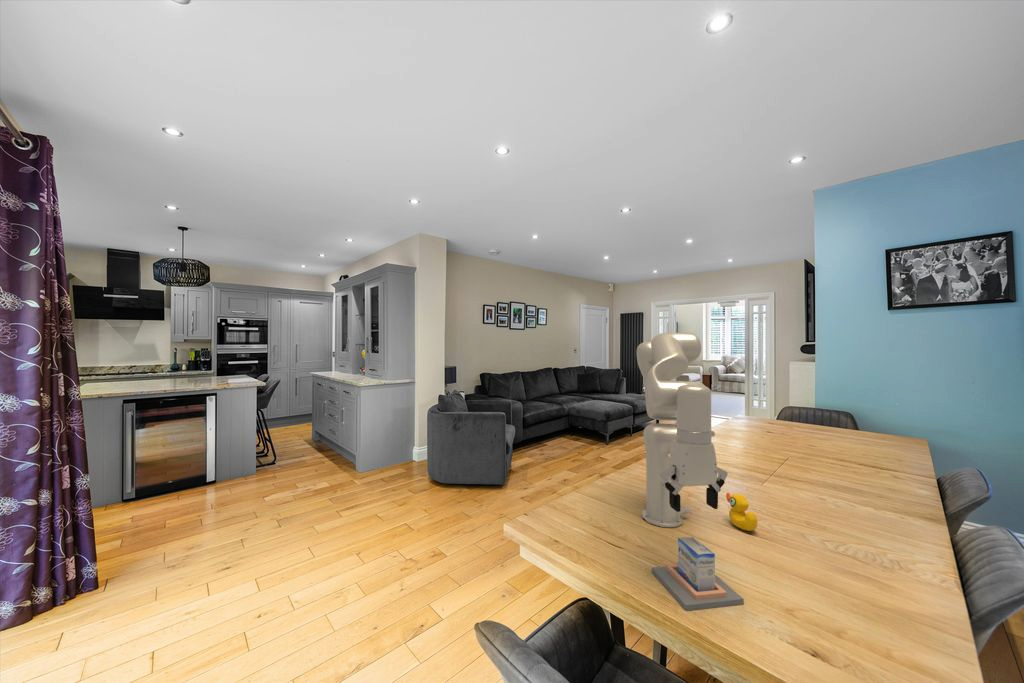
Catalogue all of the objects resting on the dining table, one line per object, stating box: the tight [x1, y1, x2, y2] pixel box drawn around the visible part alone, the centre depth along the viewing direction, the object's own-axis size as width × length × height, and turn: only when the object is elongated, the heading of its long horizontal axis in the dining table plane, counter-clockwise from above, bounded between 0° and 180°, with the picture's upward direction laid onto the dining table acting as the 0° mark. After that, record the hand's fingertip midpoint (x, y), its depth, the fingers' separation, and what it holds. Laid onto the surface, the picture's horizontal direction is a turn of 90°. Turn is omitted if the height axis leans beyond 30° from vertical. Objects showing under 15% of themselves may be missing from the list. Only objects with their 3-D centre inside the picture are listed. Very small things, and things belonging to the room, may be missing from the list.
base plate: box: [651, 563, 745, 612], centre depth 87 cm, size 14×14×2 cm
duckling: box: [725, 492, 758, 532], centre depth 118 cm, size 11×5×10 cm, turn 10°
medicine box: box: [677, 536, 716, 592], centre depth 88 cm, size 8×4×9 cm, turn 10°
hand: (693, 508), depth 88 cm, fingers open, 9 cm apart
